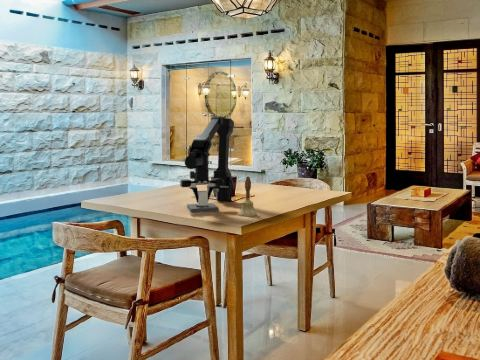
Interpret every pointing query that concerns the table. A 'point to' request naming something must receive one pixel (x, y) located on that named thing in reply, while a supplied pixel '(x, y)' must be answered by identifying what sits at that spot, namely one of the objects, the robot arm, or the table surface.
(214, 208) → the outlet plate
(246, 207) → the hand bell
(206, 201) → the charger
